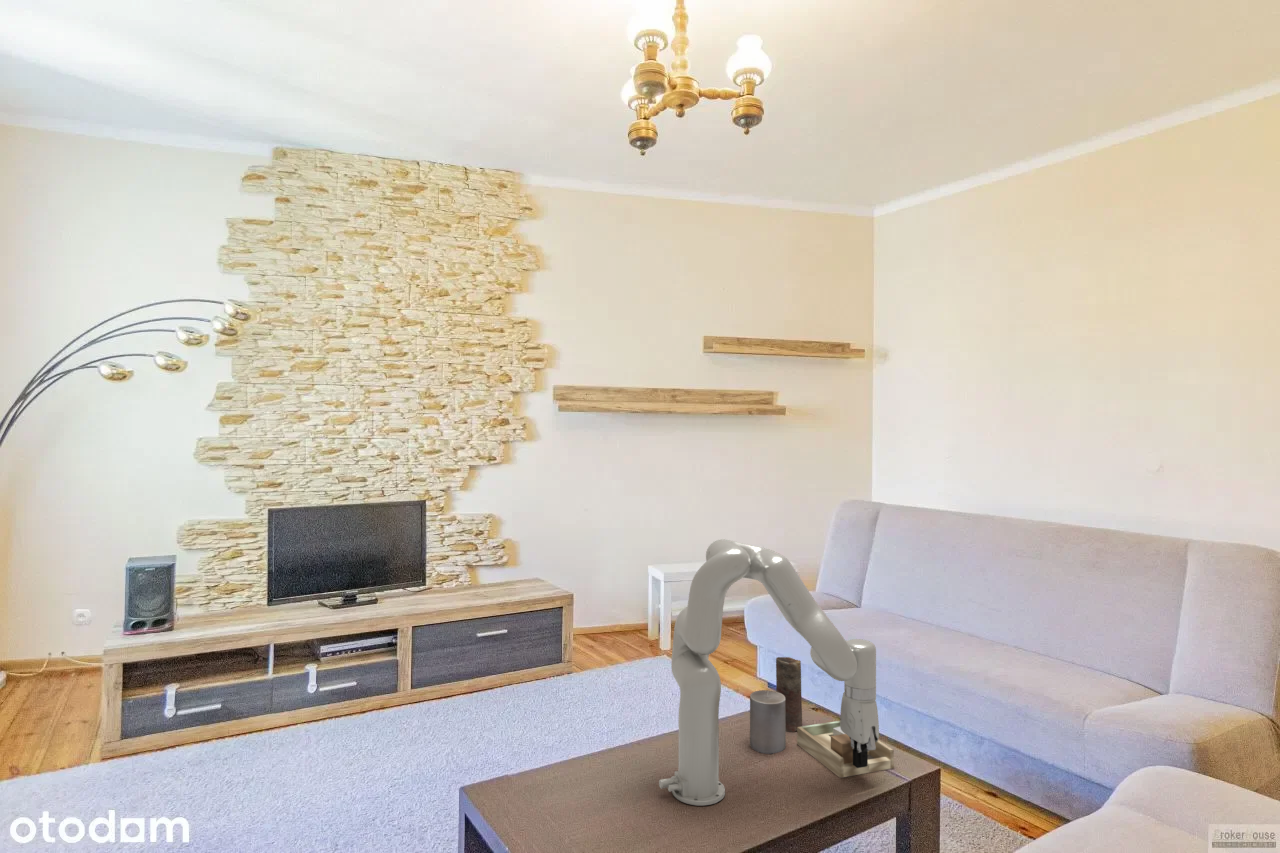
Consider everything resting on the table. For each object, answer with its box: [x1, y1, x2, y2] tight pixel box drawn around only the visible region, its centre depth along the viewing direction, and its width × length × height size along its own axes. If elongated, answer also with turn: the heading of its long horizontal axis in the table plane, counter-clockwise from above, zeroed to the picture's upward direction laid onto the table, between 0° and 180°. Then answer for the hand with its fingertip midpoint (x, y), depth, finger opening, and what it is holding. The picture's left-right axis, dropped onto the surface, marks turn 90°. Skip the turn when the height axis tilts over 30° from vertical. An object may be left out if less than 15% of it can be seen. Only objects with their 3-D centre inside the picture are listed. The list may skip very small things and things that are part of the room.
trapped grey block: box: [833, 727, 845, 736], centre depth 194 cm, size 4×4×4 cm
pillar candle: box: [749, 689, 787, 755], centre depth 194 cm, size 10×10×15 cm
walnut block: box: [831, 734, 853, 764], centre depth 182 cm, size 5×5×5 cm
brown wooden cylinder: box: [775, 656, 803, 733], centre depth 207 cm, size 8×7×20 cm
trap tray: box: [796, 720, 895, 779], centre depth 188 cm, size 16×20×5 cm
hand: (860, 765), depth 175 cm, fingers closed
